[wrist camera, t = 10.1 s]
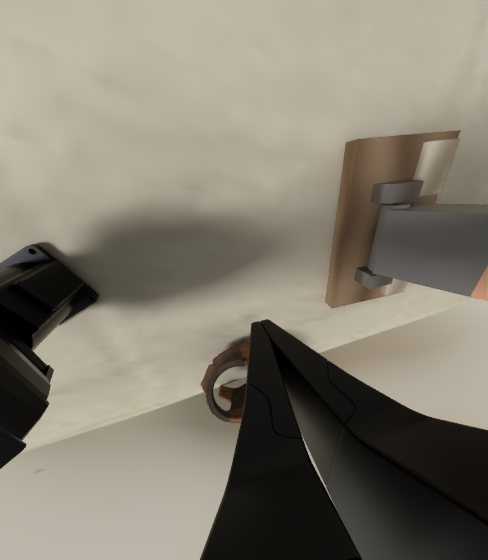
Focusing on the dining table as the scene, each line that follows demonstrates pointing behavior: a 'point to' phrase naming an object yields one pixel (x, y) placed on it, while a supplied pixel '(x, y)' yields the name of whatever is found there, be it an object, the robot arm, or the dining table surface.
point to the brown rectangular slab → (371, 195)
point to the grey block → (433, 246)
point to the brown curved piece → (234, 395)
